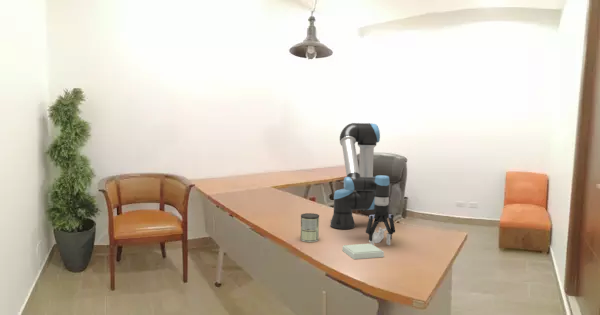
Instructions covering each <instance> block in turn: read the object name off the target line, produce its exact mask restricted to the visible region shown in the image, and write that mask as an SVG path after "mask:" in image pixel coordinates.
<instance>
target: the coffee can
mask: <svg viewBox="0 0 600 315" xmlns="http://www.w3.org/2000/svg"><path fill="white" fill-rule="evenodd" d="M319 223H320V214H318V213H314V212H313V213H312V212H311V213H310V212H309V213H307V212H306V213H302V214H301V215H300V241H302V242H304V243H315V242H318V241H319V225H320V224H319Z"/></svg>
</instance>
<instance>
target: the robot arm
mask: <svg viewBox="0 0 600 315" xmlns="http://www.w3.org/2000/svg"><path fill="white" fill-rule="evenodd" d="M379 128H380V127H379V126H378V125H377V124H376V123H369V122H368V123H365V122H364V123H362V122H361V123H359V122H358V123H357V122H352V123H349V124H347V125H345V127H344V128H343V129H342V131H341V132H340V136H339V144H340V146H341V147H342V153H343V159H344V167H345V173H346V174H345V175H346V176H345V177H344V178H343V188H341V189H337V190H334V194H333V214H332V218H331V219H330V227H332V228H334V229H340V230H341V229H342V230H350V229H354V228H355V224H356V223H355V219H354V217H353V211H354V210H355V211H357V210H358V211H361V210H366V211H369V210H371V211H373V212H374V213H373V214H369V215H368V221H367V225H366V229H365V233H366V234H368V241H369V240H370V242H369V244H372V245H374V246H375V243H374V235H373V233H375V232H374V231H375V230H376V229H377V227H378V224H379V223H383V224H384V227H385V228H387V230H386V231H387V233H386V245H387V246H391V241H392V239H393V238H392V237H393V236H392V235H394V233H396V229H395V227H396V226H395V222H394V215H393V214H392V213H390V214H389V207H390V206H389V203H390V176H389V175H381V174H379V175H375V176H374V174H373V173H374V155H375V154H374V153H375V152H374V151H375V147H376V146H377V144H378V143H380V141H381V140H380V139H381V132H380V129H379ZM356 143H357V146H358V148H359V159H358V156H357V150H356ZM358 160H359V162H358Z"/></svg>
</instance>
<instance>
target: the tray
mask: <svg viewBox="0 0 600 315" xmlns="http://www.w3.org/2000/svg"><path fill="white" fill-rule="evenodd" d="M342 252H344V253H345V254H346V255H347V256H349V257H350V258H351V259H353V260H361V259H377V258H384V257H385V252H384V250H382V249H381V248H379V247H378V246H376V245H375V244H374V245H372V244H370V243H360V244H359V243H356V244H347V245H346V244H344V245H342Z"/></svg>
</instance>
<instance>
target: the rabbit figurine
mask: <svg viewBox="0 0 600 315" xmlns="http://www.w3.org/2000/svg"><path fill="white" fill-rule="evenodd" d="M377 231H378V232H377ZM385 231H387V228H386V227H385V228H382V227H381V226H378V230H376V229H375V231H374V233H373V235H374V244H379V243H381V242H382V240H383V239H385V235H384V234H385ZM368 242H369V243H370V240H369V239H368Z"/></svg>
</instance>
